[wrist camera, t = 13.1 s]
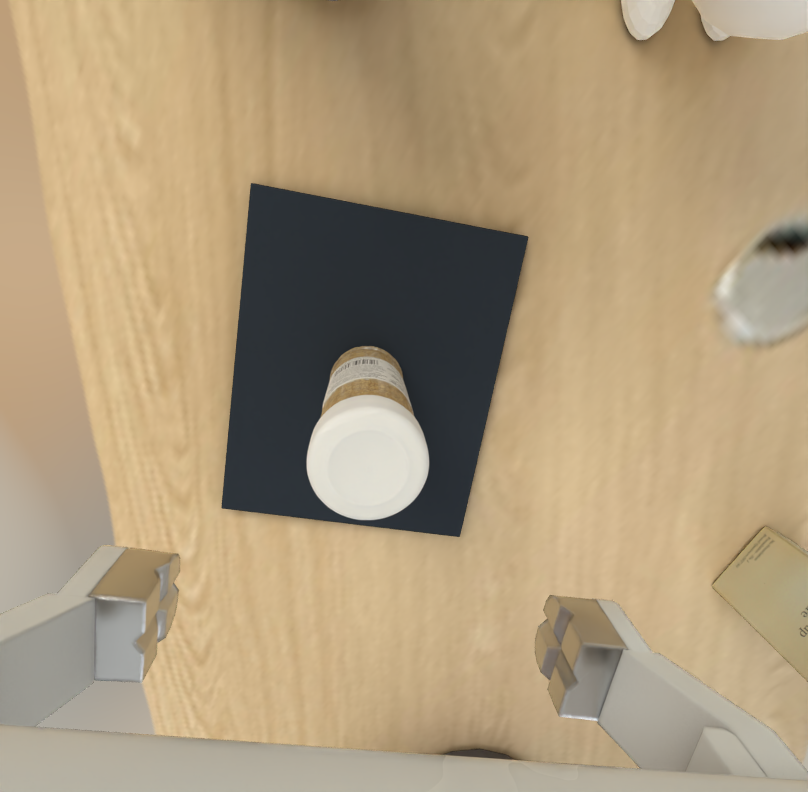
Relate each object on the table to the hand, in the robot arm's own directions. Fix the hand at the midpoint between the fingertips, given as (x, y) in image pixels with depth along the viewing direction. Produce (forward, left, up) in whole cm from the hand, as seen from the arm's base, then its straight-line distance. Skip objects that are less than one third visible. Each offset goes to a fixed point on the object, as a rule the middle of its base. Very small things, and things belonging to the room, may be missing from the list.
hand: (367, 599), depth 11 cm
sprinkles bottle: (0, 0, -21) cm, 21 cm away
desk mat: (0, 0, -22) cm, 22 cm away
